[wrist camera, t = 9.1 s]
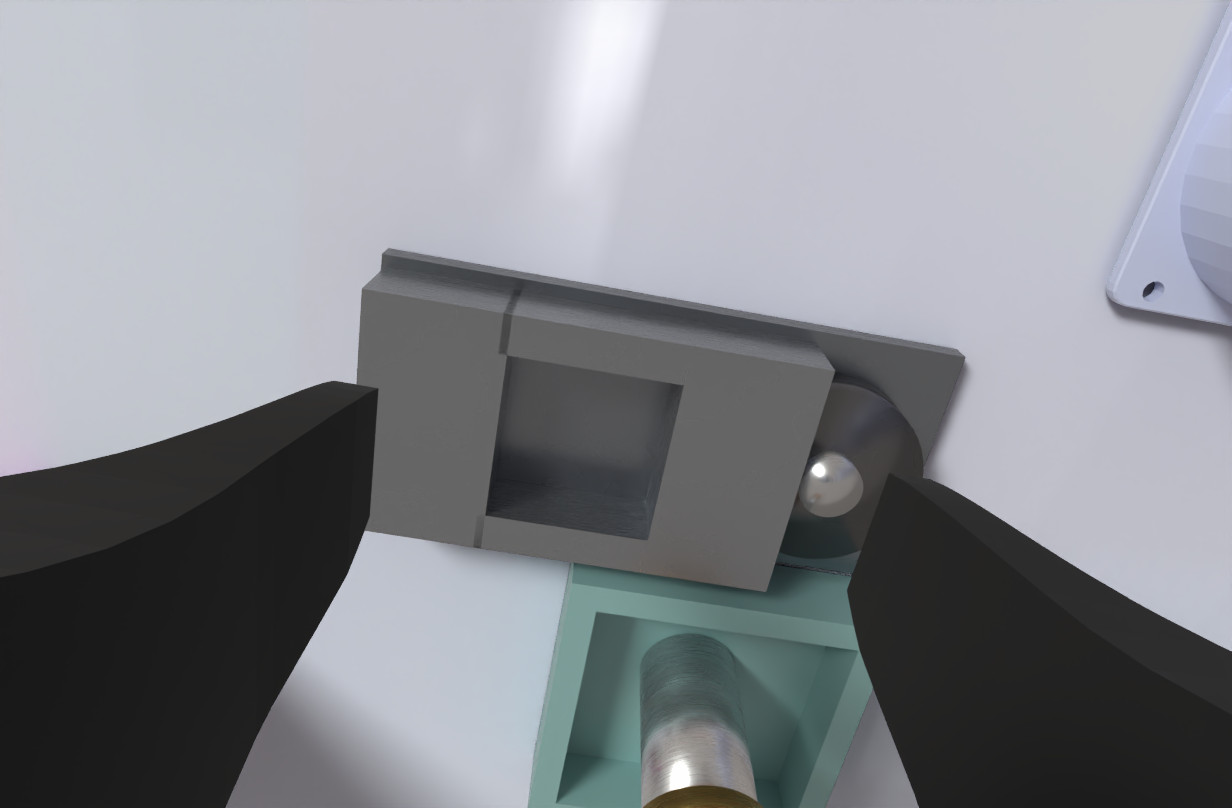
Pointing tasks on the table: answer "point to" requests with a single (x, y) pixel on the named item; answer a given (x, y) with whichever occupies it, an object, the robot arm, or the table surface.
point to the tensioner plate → (633, 423)
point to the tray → (766, 671)
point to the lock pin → (693, 727)
